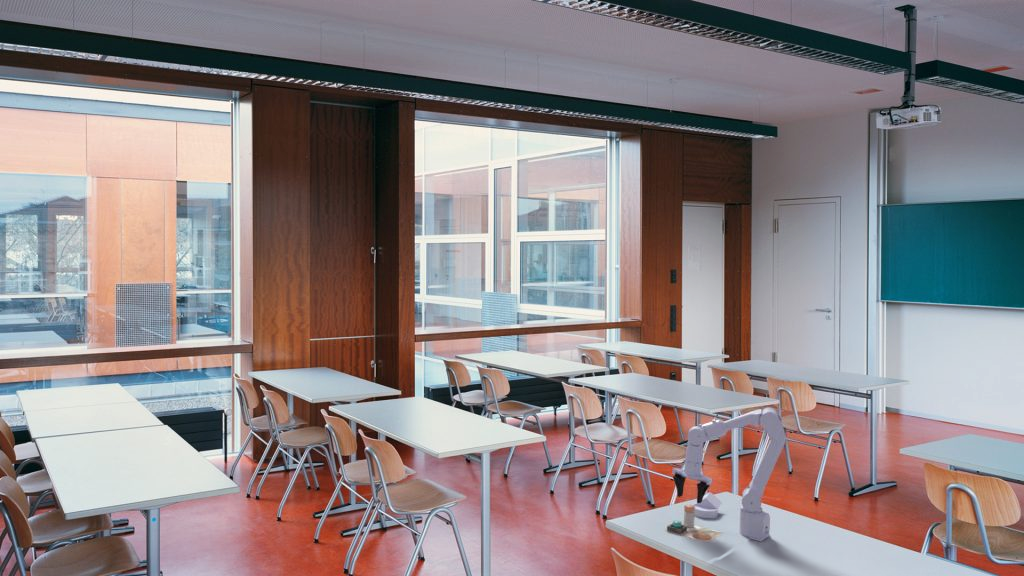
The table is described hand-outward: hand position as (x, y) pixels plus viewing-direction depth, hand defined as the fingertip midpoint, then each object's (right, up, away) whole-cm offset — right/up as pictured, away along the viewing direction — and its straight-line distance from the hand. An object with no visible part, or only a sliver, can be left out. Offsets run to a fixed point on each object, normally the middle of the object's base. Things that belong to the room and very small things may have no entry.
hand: (689, 499), depth 278 cm
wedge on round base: (+10, -10, +15) cm, 21 cm away
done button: (-5, -10, -5) cm, 12 cm away
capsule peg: (0, -9, 0) cm, 9 cm away
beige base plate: (0, -10, -6) cm, 12 cm away
